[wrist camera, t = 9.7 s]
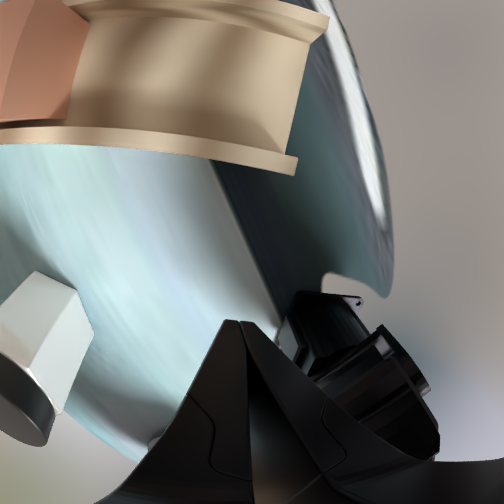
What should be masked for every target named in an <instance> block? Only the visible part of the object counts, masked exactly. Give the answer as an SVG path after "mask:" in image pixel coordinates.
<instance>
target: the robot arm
mask: <svg viewBox="0 0 504 504" xmlns="http://www.w3.org/2000/svg"><path fill="white" fill-rule="evenodd" d="M301 296H303V298H301V299H299V297H301ZM358 301H359V302H358ZM357 302H358V303H357ZM362 305H363V300H362V299H361V297H359V296H349V295H339V294H328V293H318V292H309V291H299V292H297V293H296V294H295V296H294V299H293V302H292V305H291V308H290V311H289V313H288V314H287V315H286V316H285V319H284V322H283V325H282V327H281V330H280V333H279V336H278V340H279V342H278V345H277V346H276V345H275V344H274V343H273V342H272V341H271V340H270V339H269V338H268V337H267V336H266V335H265V334H264V333H263V331H262V330H261V329H260V328H259V327H258V326H257V325H256V324H255V323H253V322H248V321H240V322H238V321H237V320H228V319H225V320H224V321H223V323H222V325H221V327H220V329H219V331H218V333H217V335H216V337H215V338H214V340H213V342H212V344H211V346H210V348H209V350H208V352H207V354H206V356H205V358H204V360H203V362H202V364H201V366H200V368H199V370H198V372H197V374H196V376H195V378H194V380H193V382H192V384H191V385H190V387H189V389H188V391H187V393H186V395H185V397H184V399H183V401H182V402H181V404H180V406H179V408H178V410H177V412H176V413H175V415H174V417H173V418H172V420H171V422H170V423H169V425H168V426H167V427H166V429H165V430H164V432H163V433H162V435H161V436H160V437H159V439H158V440H157V441H156V443H155V444H154V445H153V446H152V448H151V449H150V450H149V451H148V453H147V454H146V455H145V456H144V458H143V459H142V460H141V461H140V463H139V464H138V465H137V467H136V468H135V469H134V470H133V471H132V473H131V474H130V475H129V476H128V477H127V479H126V480H124V482H123V483H122V484H121V485H120V486H119V487H118V488H117V489H115V490H114V491H113V492H112V493H110V494H109V495H107V496H106V497H104V498H103V499H101V500H99V501H98V502H96V503H94V504H504V458H500V459H495V460H485V461H463V462H443V461H442V462H441V461H434V459H435V455H436V454H438V453H439V450H440V434H439V432H438V423H437V421H436V419H435V418H434V416H433V414H432V413H431V411H430V409H429V408H428V407H427V405H426V403H425V402H424V400H423V399H422V397H423V396H424V395H426V394H427V393H428V392H429V391H431V388H430V386H429V384H428V382H427V381H426V379H425V377H424V376H423V374H422V373H421V371H420V370H419V368H418V367H417V365H416V364H415V362H414V361H413V360H412V358H411V357H410V356H409V354H408V353H407V352H406V351H405V349H404V348H403V347H402V346H401V345H400V344H399V342H398V341H397V340H396V339H395V338H394V337H393V336H392V334H391V333H390V332H389V331H388V330H387V329H386V328H385V327H384V325H383V324H382V325H380V326H379V327H377V328H376V329H377V330H376V331H375V332H373V333H372V334H370V333H369V331H368V330H367V328H366V327H365V326H364V324H363V323H362V322H361V320H360V319H359V318H358V314H359V312H360V310H361V307H362Z"/></svg>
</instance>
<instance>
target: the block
mask: <svg viewBox="0 0 504 504" xmlns="http://www.w3.org/2000/svg"><path fill="white" fill-rule="evenodd" d="M90 26H91V25H90V24H89V23H88V22H87V21H85V20H84V19H83V18H82V17H81V16H79V15H78V14H77V13H76V12H74V11H73V10H72V9H70V8H69V7H68V6H67V5H65V4H64V3H63V2H61V1H60V0H7V1H5V2H2V3H0V123H5V122H15V121H29V120H50V119H66V114H67V109H68V104H69V99H70V94H71V90H72V85H73V81H74V77H75V73H76V69H77V66H78V62H79V59H80V55H81V52H82V49H83V46H84V43H85V40H86V37H87V34H88V31H89V29H90Z"/></svg>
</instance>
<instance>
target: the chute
mask: <svg viewBox="0 0 504 504" xmlns="http://www.w3.org/2000/svg"><path fill="white" fill-rule="evenodd" d="M60 1H61V2H63V3H64V4H65V5H67V6H68V7H69V8H70V9H72V10H73V11H74V12H76V13H77V14H78V15H79V16H81V17H82V18H83V19H84V20H85V21H87V22H88V23H89V24H90V25H91V26H90V29H89V31H88V34H87V37H86V40H85V43H84V46H83V49H82V52H81V55H80V59H79V62H78V66H77V69H76V73H75V77H74V81H73V85H72V90H71V94H70V99H69V104H68V109H67V114H66V119H50V120H29V121H15V122H5V123H0V145H3V144H72V145H92V146H107V147H119V148H130V149H140V150H149V151H158V152H166V153H173V154H180V155H187V156H194V157H200V158H207V159H213V160H219V161H224V162H230V163H235V164H240V165H246V166H251V167H256V168H260V169H265V170H270V171H274V172H279V173H283V174H288V175H292V176H294V174H295V170H296V166H297V162H298V158H296V157H293V156H289V155H285V150H286V146H287V142H288V137H289V133H290V129H291V125H292V120H293V116H294V112H295V108H296V103H297V99H298V95H299V90H300V86H301V82H302V77H303V73H304V68H305V64H306V60H307V55H308V51H309V46H310V44H311V43H312V42H313V41H314V40H315V39H317V38H318V37H319V36H320V35H321V34H323V33H324V32H325V31H326V30H327V28H328V24H329V19H330V17H328V16H325V15H323V14H320V13H317V12H314V11H311V10H308V9H305V8H302V7H299V6H296V5H293V4H289V3H286V2H282V1H278V0H60Z"/></svg>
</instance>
